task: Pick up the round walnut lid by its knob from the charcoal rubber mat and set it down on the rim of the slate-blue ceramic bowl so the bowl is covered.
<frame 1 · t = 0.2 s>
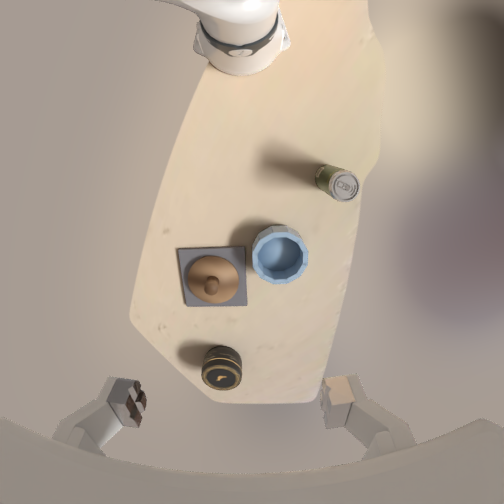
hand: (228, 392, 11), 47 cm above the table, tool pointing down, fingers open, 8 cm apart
bowl: (278, 249, 60), on the table
jar: (223, 357, 71), on the table
lid: (213, 279, 61), point 1 cm above the table, touching mat
mat: (214, 277, 62), on the table
beer can: (327, 177, 54), on the table
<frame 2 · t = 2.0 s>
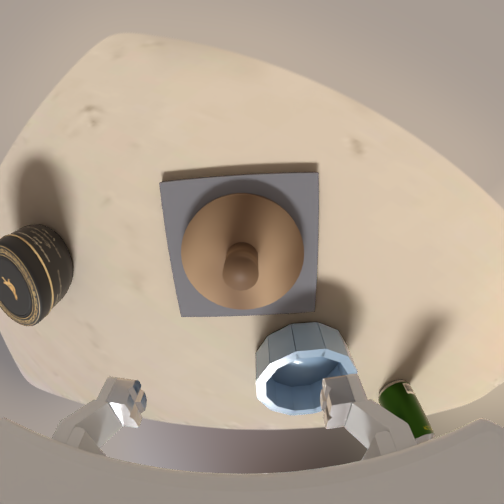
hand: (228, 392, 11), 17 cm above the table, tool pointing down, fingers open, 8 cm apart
bowl: (301, 356, 32), on the table
jar: (48, 258, 28), on the table
lid: (242, 252, 26), point 1 cm above the table, touching mat
mat: (242, 249, 27), on the table
beer can: (392, 389, 35), on the table
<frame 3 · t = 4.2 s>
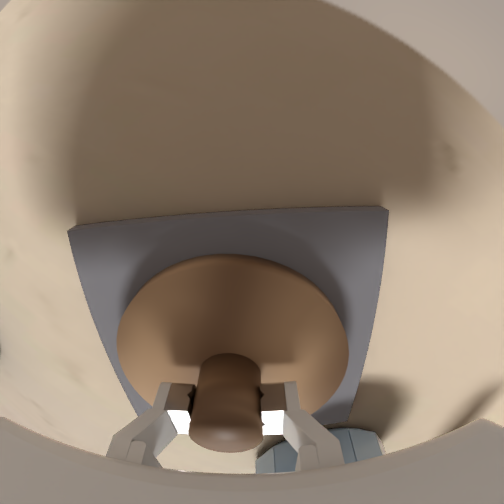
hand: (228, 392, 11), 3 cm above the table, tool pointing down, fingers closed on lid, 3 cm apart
bowl: (319, 457, 19), on the table
lid: (231, 357, 13), point 1 cm above the table, touching gripper, mat
mat: (232, 347, 14), on the table
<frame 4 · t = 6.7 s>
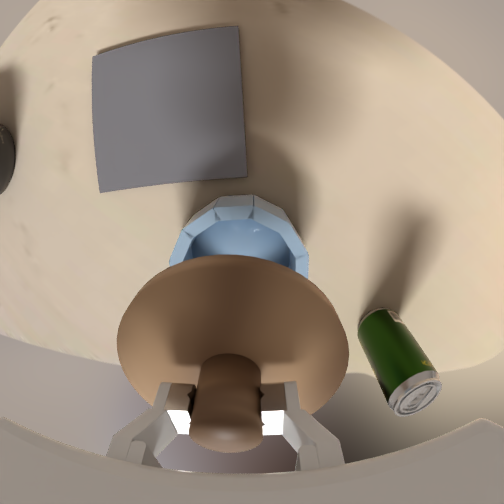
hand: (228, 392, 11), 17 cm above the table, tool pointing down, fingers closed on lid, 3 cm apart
bowl: (241, 251, 27), on the table
lid: (231, 358, 13), point 14 cm above the table, touching gripper
mat: (163, 107, 22), on the table
beer can: (376, 323, 30), on the table
when the fingers open (8 cm above the table, at t = 8.8 s): lid stays where it is, resting on bowl.
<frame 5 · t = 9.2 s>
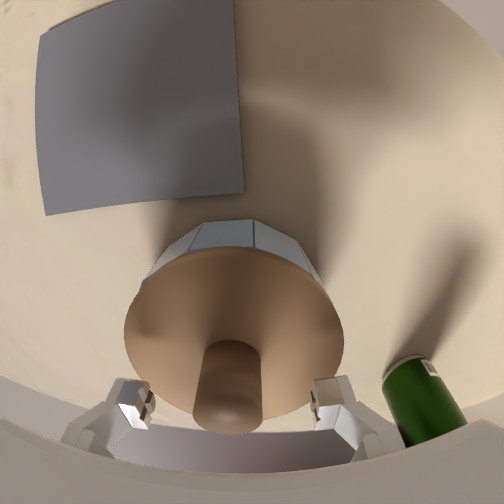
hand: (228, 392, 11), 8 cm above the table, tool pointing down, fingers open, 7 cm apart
bowl: (236, 297, 19), on the table
lid: (233, 346, 14), point 5 cm above the table, touching bowl
mat: (123, 92, 14), on the table
beer can: (403, 372, 22), on the table
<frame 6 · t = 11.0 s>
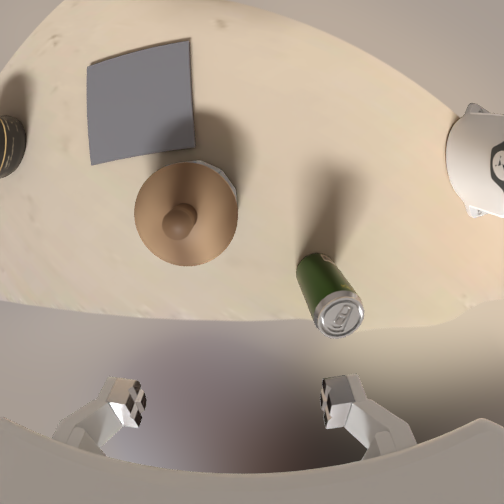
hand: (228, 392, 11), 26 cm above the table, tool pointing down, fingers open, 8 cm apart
jar: (10, 145, 29), on the table
lid: (186, 213, 29), point 5 cm above the table, touching bowl
mat: (137, 102, 29), on the table
beer can: (314, 269, 38), on the table
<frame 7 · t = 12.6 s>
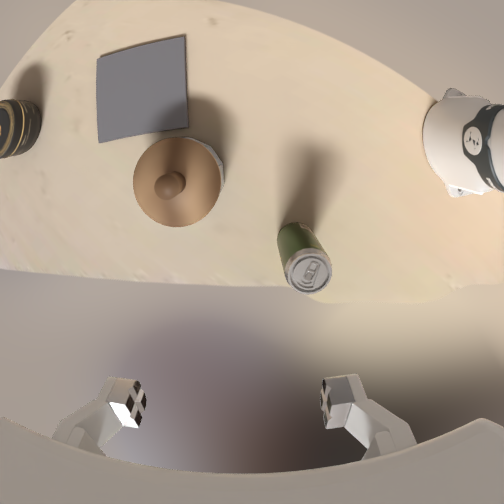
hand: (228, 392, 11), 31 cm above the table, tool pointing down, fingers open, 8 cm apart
jar: (26, 127, 34), on the table
lid: (177, 181, 33), point 5 cm above the table, touching bowl
mat: (139, 89, 33), on the table
beer can: (294, 238, 42), on the table
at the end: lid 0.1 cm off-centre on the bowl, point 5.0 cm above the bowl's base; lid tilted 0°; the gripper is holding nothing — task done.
